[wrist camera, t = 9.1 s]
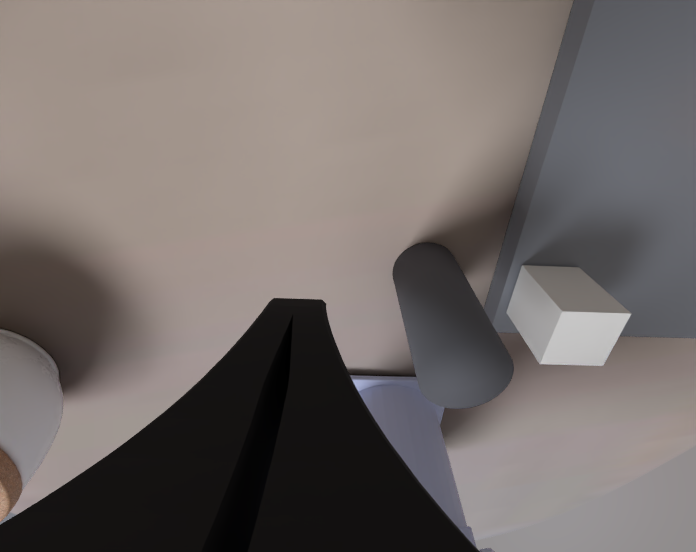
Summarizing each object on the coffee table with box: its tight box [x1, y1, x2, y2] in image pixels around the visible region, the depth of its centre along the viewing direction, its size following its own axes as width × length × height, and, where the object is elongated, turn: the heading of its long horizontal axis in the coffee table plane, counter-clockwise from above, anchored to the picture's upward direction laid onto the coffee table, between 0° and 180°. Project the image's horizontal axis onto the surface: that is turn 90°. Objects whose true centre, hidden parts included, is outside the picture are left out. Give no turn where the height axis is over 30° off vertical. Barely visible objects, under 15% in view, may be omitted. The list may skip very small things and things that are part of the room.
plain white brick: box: [506, 265, 631, 366], centre depth 18 cm, size 3×3×4 cm
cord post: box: [393, 243, 514, 409], centre depth 17 cm, size 4×4×8 cm
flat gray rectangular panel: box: [484, 0, 696, 338], centre depth 18 cm, size 16×14×2 cm
